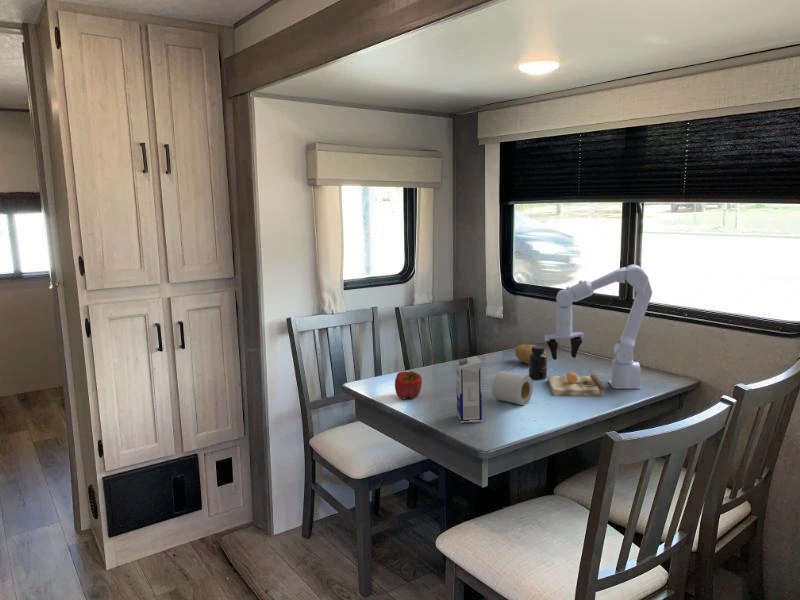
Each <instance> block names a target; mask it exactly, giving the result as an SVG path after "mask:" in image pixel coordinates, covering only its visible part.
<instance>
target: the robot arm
mask: <svg viewBox="0 0 800 600" xmlns="http://www.w3.org/2000/svg"><path fill="white" fill-rule="evenodd" d="M626 282H627V283H628V284H629V285H630V286H632V287H633V290H635V293H636V295H635V298H634V300H633V302H632V306H631V310H630V312H629V314H628V317H627V318H626V319H627V320H626V323H625V325H624V327H623V331H622V333H621V335H620V337H619V339H618V340H617V342H616V343H614V345H613V349H612V350H613V351H612V352H613V354H614V357H613V358H612V363H611V380H608V383H609V385H611V387H612V388H613V389H642V387H641V373H642V371H641V370H642V369H641V365H640V362H638V361H634V349H635V344H636V340H637V337H638V334H639V331H640V328H641V327H642V322H643V320H644V318H645V315H646V312H647V309H648V307H649V304H650V301H651V299H652V295H653V289H652V287H651V283H650V281H649V276H648V275H647V273H645V271H644V269H643V268H642V267H641V266H640V265H638V264H629V265H627V266H624V267H620V268H618V269H615V270H613V271H611V272H609V273H607V274H604V275H603V276H601V277H599V278H596V279H594V280H592V281H588V280H584V281H583V280H579V281H578V283H577V284H574V285H572V286H567V287H566V289H561V290H559V291H558V292H557V294H556V296H555V299H556V303H557V304H556V313H555V315H556V317H555V318H556V320H555V325H556V327H555V333H550V334H545V335H544V341H545V342H546V343H547V346H548V348H549V350H550V353H551V358H552V360H554V361H555V360H556V361H557V357H558V355H557V353H558V352H557V351H558V344H559V343H558V342H557V341H561V340H569V341H570V346H571V349H570V351H571V352H570V355H571V357H572V358H573V359H574V358H575V359H576V358H577V354H578V351H579V349H580V347H581V345H582V343H583V339H584V338H585V334H584V332H582V331H577V332H576V331H573V309H572V308H573V306H572V305H573V302H575V303H577V302H578V301H581V300H584V299H585V298H588V297H590V296H592V295H593V294H594V291H596V290H598V289H601V288H603V287H606V286H609V285H611V284H614V283H621V284H626Z"/></svg>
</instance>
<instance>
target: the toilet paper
mask: <svg viewBox="0 0 800 600" xmlns="http://www.w3.org/2000/svg"><path fill="white" fill-rule="evenodd" d="M533 386H534V385H533V380H532V378H530V377H529V375H525V374H520V373H514V372H508V371H505V370H504V371H503V370H499V371H498V372H497V373H496V374H495V376H494V377H493V380H492V384H491V392H492V393H491V394H492V396H493V398H494V399H495V400H497V401H503V402H507V403H511V404H515V405H521V406H525V404H526V405H527V404H528V403H529V402H530V399H531V397H532V394H533V389H534V388H533Z"/></svg>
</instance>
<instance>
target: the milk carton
mask: <svg viewBox="0 0 800 600" xmlns="http://www.w3.org/2000/svg"><path fill="white" fill-rule="evenodd" d="M455 362H456V363H455V364H456V366H455V369H456V370H455V372H456V375H455V376H456V378H455V379H456V416H457V415H458V416H457V418H458V417H459V418H460V420H461V421H469V420H482V421H483V414H482V413H483V410H482V409H483V408H482V407H483V403H482V402H483V397H482V393H483V392H482V391H483V390H482V386H483V385H482V360H481V359H480V358H479V356H477V355H474V356H470V357H465V358H461V359H459V360H458V361H455ZM459 418H458V419H459ZM460 420H459V421H460Z"/></svg>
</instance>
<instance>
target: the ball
mask: <svg viewBox="0 0 800 600" xmlns="http://www.w3.org/2000/svg"><path fill="white" fill-rule="evenodd" d="M565 376H566V379H567V381H568V382H569V383H575V382H576V381H577V379H578V376H579V375H578V374H577V373H576V372H574V371H570V372H568V373H567V374H566V375H565Z"/></svg>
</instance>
